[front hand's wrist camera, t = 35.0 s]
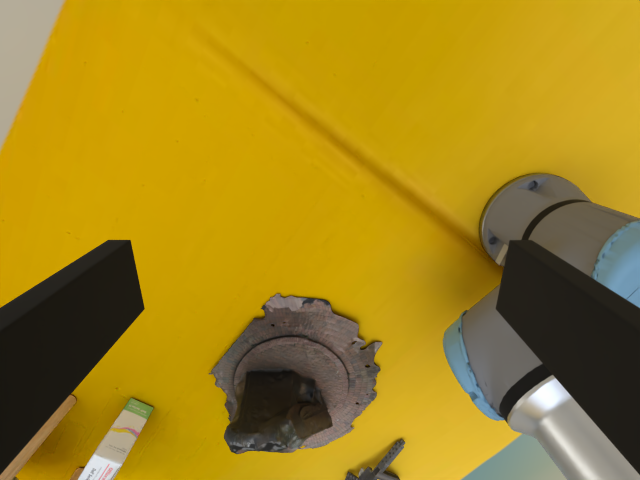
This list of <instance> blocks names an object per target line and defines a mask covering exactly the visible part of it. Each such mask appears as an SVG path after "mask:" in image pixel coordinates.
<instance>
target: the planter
mask: <svg viewBox="0 0 640 480" xmlns="http://www.w3.org/2000/svg"><path fill="white" fill-rule="evenodd" d="M75 403H76V398H75V397H74V396H72V395H69V397H68V398H67V399H66V400H65V401H64V402H63V403H62V405H61V406H60V407H59V408H58V409H57V410H56V412H55V413H54V414H53V415H52V416H51V417H50V418H49V420H48V421H47V422H46V423H45V424H44V425H43V426H42V428H41V429H40V430H39V431H38V432H37V433H36V435H35V436H34V437H33V438H32V439H31V440H30V441H29V443H28V444H27V445H26V446H25V447H24V448H23V450H22V451H21V452H20V453H19V454H18V455H17V456H16V458H15V459H14V460H13V461H12V462H11V463H10V465H9V466H8V467H7V468H6V469H5V470H4V471H3V473H2V474H1V475H0V480H18V479H17V478H16V477H15V476H16V474H17V473H18V472H19V471H20V470H21V468H22V467H23V466H24V465H25V464H26V462H27V461H28V460H29V459H30V457H31V456H32V455H33V454H34V453H35V451H36V450H37V449H38V448H39V447H40V445H41V444H42V443H43V442H44V441H45V439H46V438H47V437H48V436H49V434H50V433H51V432H52V431H53V430H54V428H55V427H56V426H57V425H58V424H59V422H60V421H61V420H62V419H63V418H64V416H65V415H66V414H67V413H68V411H69V410H70V409H71V408H72V407H73V405H74V404H75ZM83 470H84V468H78V469H76V471H75V472H74V474H73V475H72V477H71V478H70V480H78V478H79V476H80V475H81V473H82V471H83Z"/></svg>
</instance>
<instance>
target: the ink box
mask: <svg viewBox="0 0 640 480" xmlns="http://www.w3.org/2000/svg"><path fill="white" fill-rule="evenodd" d="M152 410H153V407H151V406H149V405H146V404H144V403H142V402H139V401H137V400H135V399H133V398H131V399H130V400H129V402H128V403H127V405H126V406H125V408H124V409H123V410H122V412H121V413H120V415H119V416H118V418H117V419H116V421H115V422H114V424H113V425H112V427H111V428H110V430H109V431H108V433H107V434H106V436H105V437H104V439H103V440H102V442H101V443H100V445H99V446H98V448H97V449H96V451H95V452H94V454H93V455H92V457H91V458H90V460H89V462H88V463H87V465H86V467H85V468H84V470H83V471H82V473H81V475H80V476H79V478H78V480H113V479H114V477H115V476H116V474H117V473H118V471H119V469H120V468H121V466H122V464H123V463H124V461H125V459H126V457H127V455H128V454H129V452H130V450H131V448H132V446H133V445H134V443H135V441H136V439H137V437H138V436H139V434H140V432H141V430H142V428H143V427H144V425H145V423H146V421H147V419H148V418H149V416H150V414H151V412H152Z"/></svg>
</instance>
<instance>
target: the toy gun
mask: <svg viewBox="0 0 640 480" xmlns="http://www.w3.org/2000/svg"><path fill="white" fill-rule="evenodd" d="M404 444H405V442H404V440H402V439H401V440H400V442H399V441H397V442H396V444H395V445H394V446H393V447H392V448H391V450H390V451H389V452H388V453H387V454H386V456H385V457H384V458H383V459H382V460H381V462H380V463H379V464H378V465H377V466H376V467H375V469H374V470H372V468H370V467H368V468H367V469H366V470H365V469H364V468H361V470H360V472H359V478H358V477H356V476H355V475H354V474H352V473H350V472H348V474H347V476H346V479H345V480H377V479H379V480H400V479H399V477H398V476H397V475H395V474H393V473H390V472H388V471H385V469H386V468H387V467H388V466H389V465H390V464H391V462H392V461H393V460H394V459H395V458H396V456H397V455H398V454H399V453H400V452H401V450H402V449H403V448H404V446H403V445H404Z"/></svg>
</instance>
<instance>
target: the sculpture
mask: <svg viewBox="0 0 640 480" xmlns="http://www.w3.org/2000/svg"><path fill="white" fill-rule="evenodd" d="M261 309H263V310H264V311H265V318H263V319H257V318H254V320H253V322H252V323H250V325H249V326H248V327H247V329H246V330H245V331H244V332H243V334H241V336H240V337H239V338H238V339H237V340H236V342H235V343H234V344H233V345H232V346H231V348H230V349H229V350H228V352H226V354H225V355H224V356H223V357H222V359H221V360H220V361H219V364H218V365H216V367H214V368H213V369H212V373H209V374H214V376H215V378H216V382H215V385H216V386H217V387H220V388H222V390H223V391H224V392H225V393H226V394H227V402H226V403H225V407H226V409H227V410H228V412H229V414H230V415H231V416H230V415H229V418H230V419H229V418H228V419H229V420H230V424H229V425H228V426H227V428H226V430H225V434H224V439H225V441H226V442H227V444H228V446H229V448H230V450H231V452H233V453H236V454H240V453H244V452H246V451H266V452H280V453H291V452H294V451H295V450H297V449H306V448H317V447H321V446H324V445H327V444H328V443H330V442H331V441H334V440H336V439H338V438H340V437H342V436H344V435H345V434H347V433H349V432H350V431H351V430H352V429H354V428H352V427H350V426H351V424H352V422H353V420H354V419H355V418H356V417H357V416H359V415H360V414H362V411H363V410H365V408H366V407H367V406H368V405H369V404H370V403H371V401H373V399H375V398H376V395H377V393H376V392H374V391H373V390H372V389H373V387H374V386H375V385H376V380H375V377H377V373H378V372H379V371H380V368H379V367H378V366H376V365H375V364H374V356H375V354H376V352H377V350H378V349H379V348H380V346H381V345H382V342H375V343H372V344H371V345H369V346H368V347H367V348H366V349H365V350H360V347H361V346H363V345H365V344H366V342H365V341H364V340H361V339H359V338H358V337H357V335H358V329H359V326H358V324H357V323H355V322H353V321H351V320H348V319H346V318H343V317H341V316H338V315H336V314H334V313H333V312H332V310H331V306H330V303H329V302H327V301H325V300H321V299H310V298H296V297H293V296H289V297H287V298H283V297H280V294H276V296H275V297H273V298H271V297H270V301H268V302H267V303H266V305H264V306H263V307H262V308H261ZM283 322H286V323H283ZM270 324H274V325H275V326H274V327H273V326H271V325H270ZM354 341H357V342H355V344H353V345H352V342H354ZM367 364H368V365H370V367H369V368H366V367H365V366H366V365H367ZM218 377H219V378H218ZM219 383H221V384H219ZM366 394H368V395H366ZM356 402H358V403H359V405H357V404H356ZM302 445H306V447H304V448H300V447H301V446H302Z"/></svg>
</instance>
